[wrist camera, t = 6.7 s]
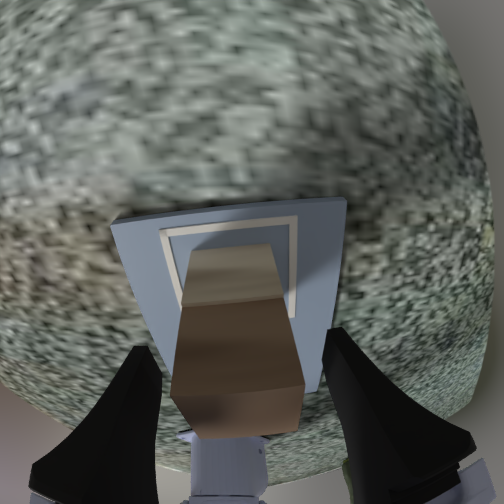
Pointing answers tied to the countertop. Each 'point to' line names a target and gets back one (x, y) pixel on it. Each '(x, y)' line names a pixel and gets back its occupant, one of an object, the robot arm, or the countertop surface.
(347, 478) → the vegetable
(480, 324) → the countertop surface
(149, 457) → the robot arm
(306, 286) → the board
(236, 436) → the walnut block
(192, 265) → the maple block
